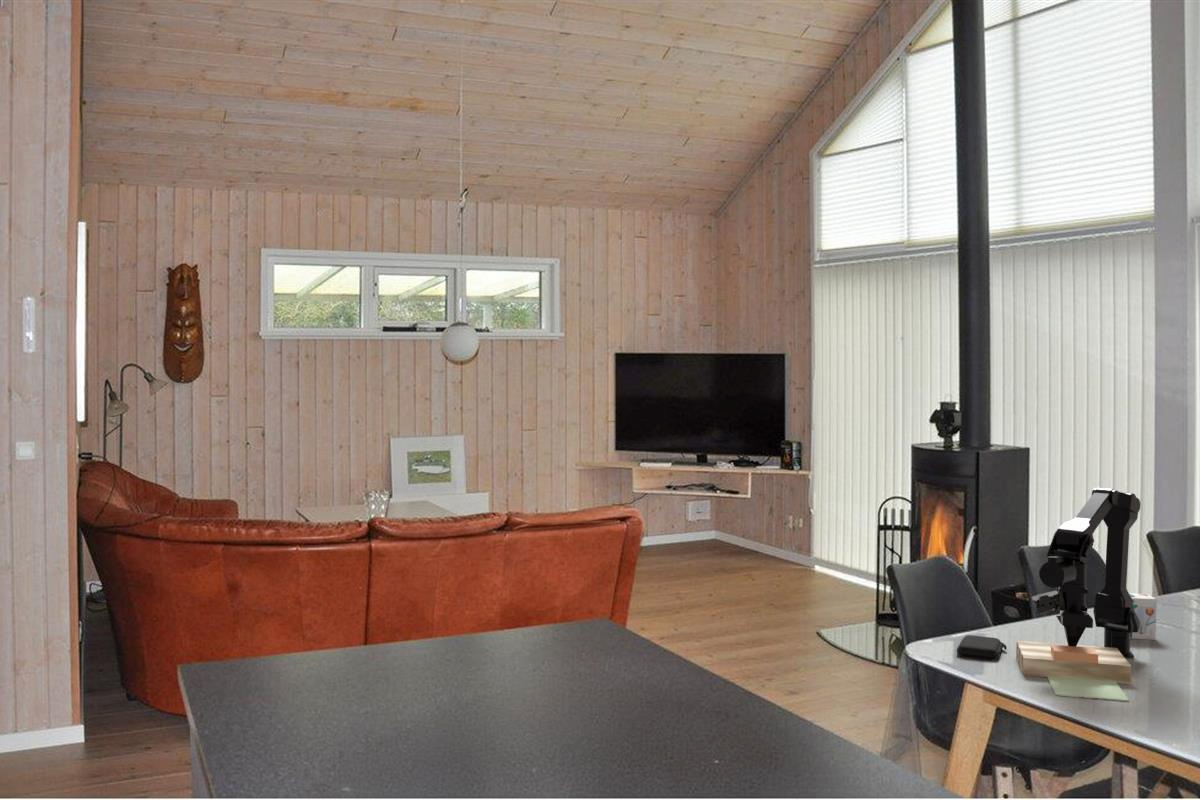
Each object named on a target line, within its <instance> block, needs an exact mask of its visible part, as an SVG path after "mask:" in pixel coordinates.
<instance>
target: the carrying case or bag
mask: <svg viewBox="0 0 1200 800" xmlns="http://www.w3.org/2000/svg"><path fill="white" fill-rule="evenodd" d="M1007 647H1008V646H1007V645H1006V644H1005V643H1003V642H1002V641H1001V640H1000V639H999V638H997V637H991V636H990V637H989V636H979V635H972V634H966V635H965V636H964V637H962V639H961V641H960V643H959V644H958V646H957V648H956V653H957V654H958V655H959V657H961V658H966V659H967V658H968V659H976V660H984V661H995V660H996V659H999V658H1000V655H1001V653H1002V651H1003V648H1004V650H1005V651H1006V650H1007Z"/></svg>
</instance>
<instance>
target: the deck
mask: <svg viewBox="0 0 1200 800" xmlns="http://www.w3.org/2000/svg"><path fill="white" fill-rule="evenodd" d="M1051 645H1063V646H1068V643H1067V644H1066V643H1065V644H1063V643H1053V642H1038V641H1024V640H1016V655H1015V657H1016V660H1017V662H1018V665H1019V668H1020V670H1021V673H1022V675H1023V676H1027V677H1041V678H1047V676H1055V677H1067V678H1079V679H1092V680H1104V681H1116V682H1117V684H1125V685H1132V684H1131V683H1132V665H1131V664H1130V663H1129V661H1128V660H1127V658H1126V657H1124V656H1123V655H1122V654H1121V653H1120V651H1119V650H1118V649H1117V648H1109V647H1104V646H1094V645H1081V644H1080V645H1079V644H1077V647H1091V648H1094V649H1095V650H1096V652H1097V653H1098V663H1088V662H1075V661H1061V660H1054V658H1053V656H1052V655H1051Z"/></svg>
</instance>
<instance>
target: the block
mask: <svg viewBox="0 0 1200 800" xmlns="http://www.w3.org/2000/svg"><path fill="white" fill-rule="evenodd" d="M1051 655H1052V656H1053V658H1054V660H1061V661H1075V662H1088V663H1098V653H1097V652H1096V650H1095V649H1094V648H1091V647H1077V646H1063V645H1051Z"/></svg>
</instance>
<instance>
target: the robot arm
mask: <svg viewBox="0 0 1200 800" xmlns="http://www.w3.org/2000/svg"><path fill="white" fill-rule="evenodd" d="M1140 510H1141V500H1140V499H1139V498H1138V497H1137V495H1136V494H1135V493H1133V492H1121V491H1118V490H1116V489H1114V488H1105V487H1097V488H1093V489H1092V491H1091V496H1090V497H1089V498H1088V500H1087V501H1086V503H1085V504H1084V505H1083V507H1082V508H1081V509H1080V511H1079V512H1078V513H1077V515H1076V516H1075V517H1074V518H1073V519H1072V520H1068V521H1065V522H1064V523H1063V524H1061V525H1060V526H1059V527H1058V528H1057V529H1056V531H1055V532H1054V533H1053V536H1052V538H1051V541H1050V545H1049V549H1048V550H1047V554H1046V556H1047V557H1048V558H1047V562H1045V563H1043V564H1042V566H1040V569H1039V570H1038V573H1039V578H1040V581H1041V583H1042V584H1044V585H1045V586H1046V587H1048V588H1053V589H1054V588H1055V590H1052V591H1047V592H1044V593H1040V594H1036V595H1034V596H1031V599H1032V603H1033V605H1034V608H1035V610H1036V612H1037V614H1043V613H1045V612H1047V611H1050V610H1052V611H1053V612H1057V611H1059V615H1056V619H1057V620H1058V622H1059V623H1060V624H1061V625H1062V626H1063V628H1064V633H1065V639H1066V643H1067V644H1068V646H1077V645H1079V642H1080V640H1081V638H1082V635H1083V634H1084V632H1085V631H1086V629H1087V628H1088V629H1092V628H1094V622H1095V628H1096V627H1097V628H1104V629H1103V630H1104V631H1103V647H1109V648H1117V649H1118V650H1119V651H1120V653H1121V654H1122V655H1123V656H1124V658H1135V655H1134V654H1133V652H1132V651H1131V638H1130V633H1133V632H1138V630H1139V628H1140V621H1139V619H1138V617H1137V615H1136V613H1135V611H1134V609H1133V600H1132V598H1131V596H1130V594H1129V593H1130V592H1129V591H1128V589H1127V580H1128V562H1129V543H1130V542H1129V541H1130V529H1131V528H1132V527H1133V525H1134V524H1135V523H1136V522H1137V520H1138V517H1139V512H1140ZM1102 521H1103V522H1104V524H1105V526H1106V528H1107V532H1106V533H1107V534H1106V549H1105V550H1106V551H1105V552H1106V553H1105V567H1104V568H1105V569H1104V584H1103V585H1104V586H1103V588H1102V589H1101V590H1100V591H1099V592H1097V593H1096V594H1095V597H1094V598H1095V599H1094V601H1095V602H1094V605H1093V617H1094V619H1093V617H1092V616H1091V615H1090V614H1089V613H1088V606H1087V594H1089V593H1088V588H1087V562H1088V563H1089V561H1090V558H1089V554H1090V552H1091V550H1092V548H1093V546H1094V542H1095V538H1094V532H1095V531H1096V529H1097V528H1098V527H1099V525H1100V524H1101V522H1102ZM1127 625H1128V626H1127Z"/></svg>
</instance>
